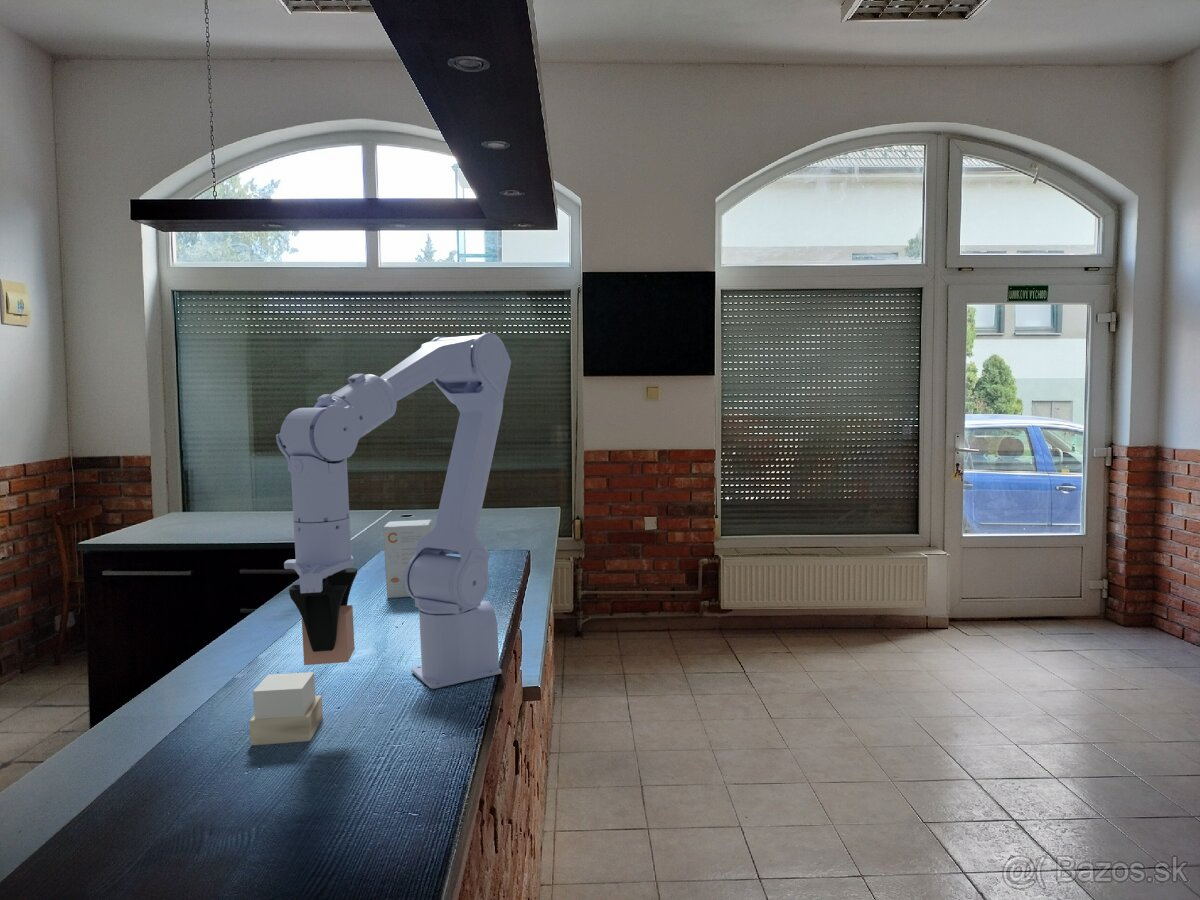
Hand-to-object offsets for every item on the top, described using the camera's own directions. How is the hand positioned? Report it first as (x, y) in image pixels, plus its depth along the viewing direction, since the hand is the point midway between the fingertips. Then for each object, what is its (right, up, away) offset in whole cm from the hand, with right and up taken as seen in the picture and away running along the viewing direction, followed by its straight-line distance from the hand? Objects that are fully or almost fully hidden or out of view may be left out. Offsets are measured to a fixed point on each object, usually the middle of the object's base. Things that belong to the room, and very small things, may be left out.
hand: (328, 642), depth 88 cm
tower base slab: (-4, -10, 0) cm, 11 cm away
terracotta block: (0, -2, 0) cm, 2 cm away
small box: (-5, -5, +60) cm, 60 cm away
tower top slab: (-4, -7, 0) cm, 8 cm away
